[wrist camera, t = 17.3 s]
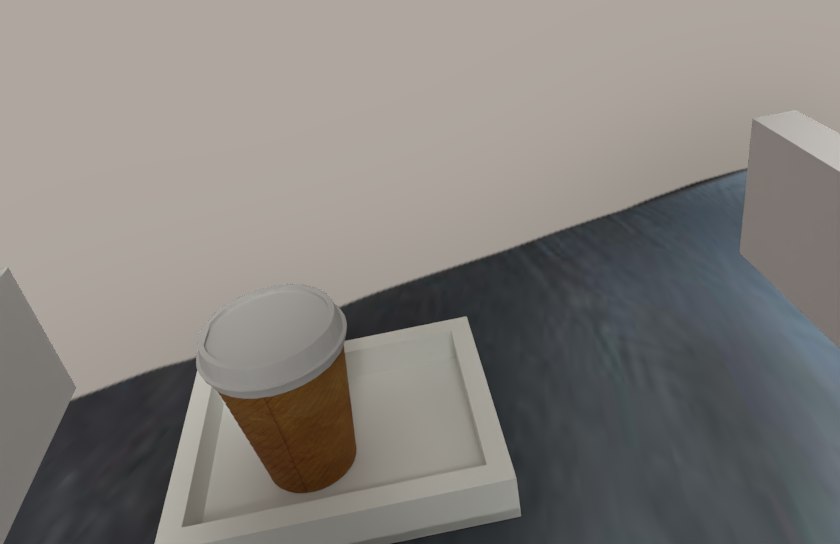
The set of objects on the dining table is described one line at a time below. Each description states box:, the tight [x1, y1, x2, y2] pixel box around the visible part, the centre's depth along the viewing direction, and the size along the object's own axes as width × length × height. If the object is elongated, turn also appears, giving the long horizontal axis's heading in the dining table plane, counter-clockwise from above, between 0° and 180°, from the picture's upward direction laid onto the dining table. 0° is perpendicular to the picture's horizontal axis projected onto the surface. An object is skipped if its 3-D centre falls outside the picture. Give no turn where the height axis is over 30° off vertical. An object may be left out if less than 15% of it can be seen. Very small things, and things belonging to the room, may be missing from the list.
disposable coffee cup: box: [196, 284, 356, 493], centre depth 46 cm, size 10×10×12 cm
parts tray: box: [155, 316, 521, 544], centre depth 49 cm, size 22×17×4 cm
